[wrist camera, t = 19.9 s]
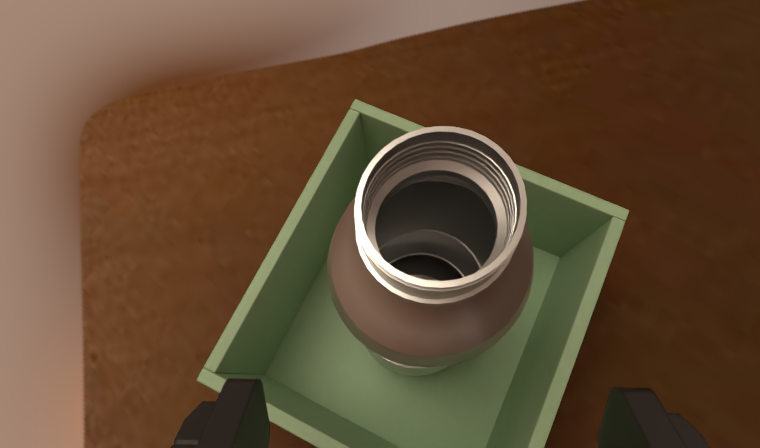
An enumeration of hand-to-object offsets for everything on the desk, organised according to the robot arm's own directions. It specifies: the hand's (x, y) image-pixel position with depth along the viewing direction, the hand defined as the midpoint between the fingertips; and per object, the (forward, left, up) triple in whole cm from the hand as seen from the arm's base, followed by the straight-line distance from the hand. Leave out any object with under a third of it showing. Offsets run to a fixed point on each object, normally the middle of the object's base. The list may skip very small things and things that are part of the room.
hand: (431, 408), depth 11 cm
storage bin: (-4, -2, -18) cm, 19 cm away
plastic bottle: (-4, -2, -18) cm, 18 cm away
